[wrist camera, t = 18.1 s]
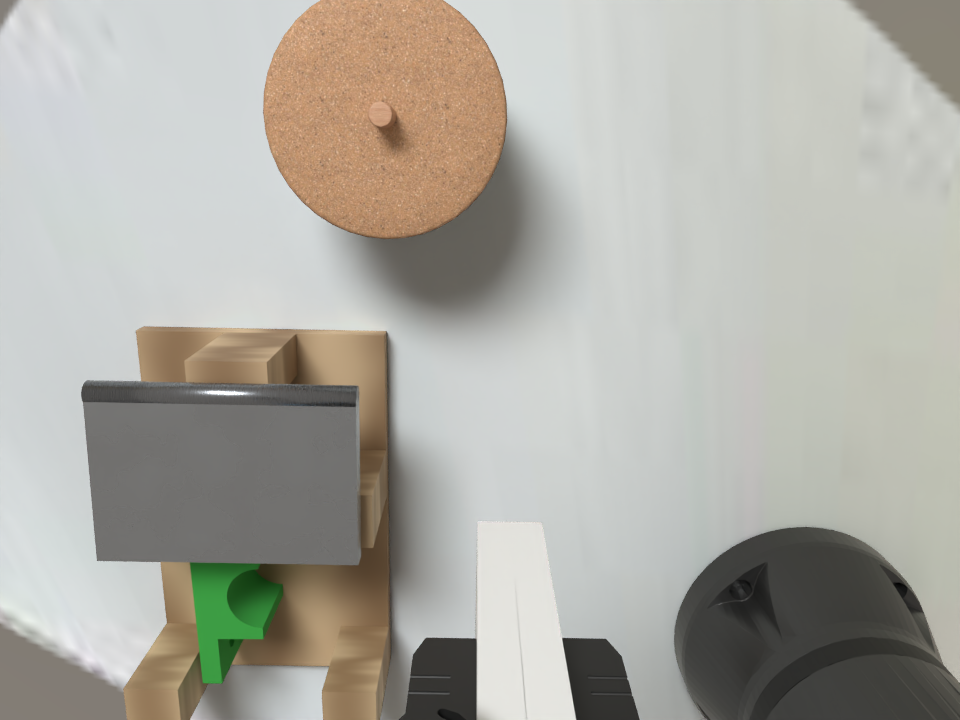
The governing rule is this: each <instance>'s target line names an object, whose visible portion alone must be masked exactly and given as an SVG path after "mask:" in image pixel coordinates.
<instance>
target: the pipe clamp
mask: <svg viewBox="0 0 960 720" xmlns="http://www.w3.org/2000/svg"><path fill="white" fill-rule="evenodd" d="M259 566H260V564H255V563H196V562H190V570H191V579H192V588H193V597H194V607H195V616H196V625H197V634H198V644H199V653H200V662H201V671H202V681H203V683H223V681H224V679H225V676H226V674H227V672H228V670H229V668H230V666H231V664H232V662H233V660H234V658H235V656H236V654H237V652H238V650H239V648H240V646H241V643H242V641H243V639H264V637H265V635H266V633H267V630H268V628H269V626H270V624H271V621H272V619H273V617H274V615H275V612H276V610H277V608H278V605H279V603H280V601H281V599H282V596H283V584H277V583H273V582H270V581H268V580H266V579H264V578H263V577H261V576H260V575H259V574H258V573H257V572H256V569H258V568H259Z"/></svg>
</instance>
